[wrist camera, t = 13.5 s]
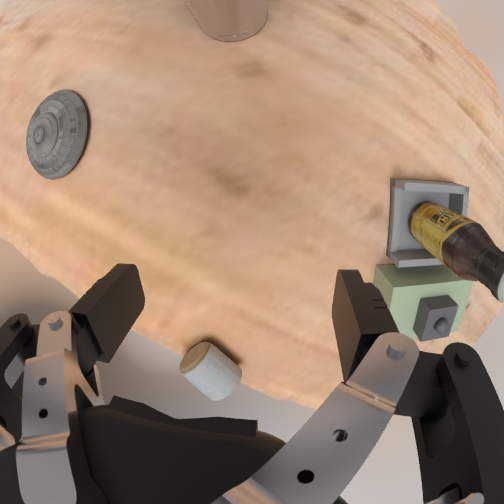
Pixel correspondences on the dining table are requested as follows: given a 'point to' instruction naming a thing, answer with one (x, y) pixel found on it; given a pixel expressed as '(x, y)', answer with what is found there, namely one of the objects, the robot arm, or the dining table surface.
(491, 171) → the dining table surface
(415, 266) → the knobbed green block
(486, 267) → the sauce bottle
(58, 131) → the flying saucer
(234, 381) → the white cylinder
